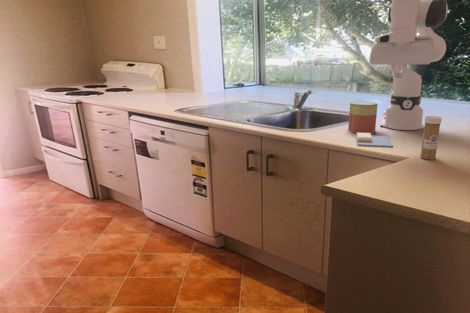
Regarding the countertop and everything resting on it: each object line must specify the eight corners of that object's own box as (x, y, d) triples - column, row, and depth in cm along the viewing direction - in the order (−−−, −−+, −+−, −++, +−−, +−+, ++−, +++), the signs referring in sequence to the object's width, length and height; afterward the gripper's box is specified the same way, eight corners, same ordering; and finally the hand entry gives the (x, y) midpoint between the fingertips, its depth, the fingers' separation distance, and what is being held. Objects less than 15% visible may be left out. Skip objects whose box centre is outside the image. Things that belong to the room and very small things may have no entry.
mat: (355, 136, 150) (355, 134, 150) (387, 137, 147) (387, 136, 147) (357, 145, 135) (357, 144, 135) (392, 147, 132) (392, 145, 132)
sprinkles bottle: (426, 160, 117) (432, 118, 113) (416, 156, 121) (422, 115, 117) (439, 159, 117) (445, 117, 114) (429, 155, 122) (434, 115, 118)
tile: (369, 137, 145) (356, 136, 146) (370, 133, 145) (356, 132, 146) (371, 142, 138) (357, 141, 139) (372, 137, 137) (358, 137, 138)
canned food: (377, 129, 163) (380, 102, 159) (372, 134, 153) (375, 105, 150) (351, 127, 168) (353, 100, 165) (345, 131, 159) (346, 103, 156)
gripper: (433, 36, 129) (427, 76, 133) (370, 38, 134) (367, 76, 138) (437, 36, 123) (431, 78, 127) (371, 38, 128) (368, 78, 133)
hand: (397, 77), depth 133 cm, fingers closed
